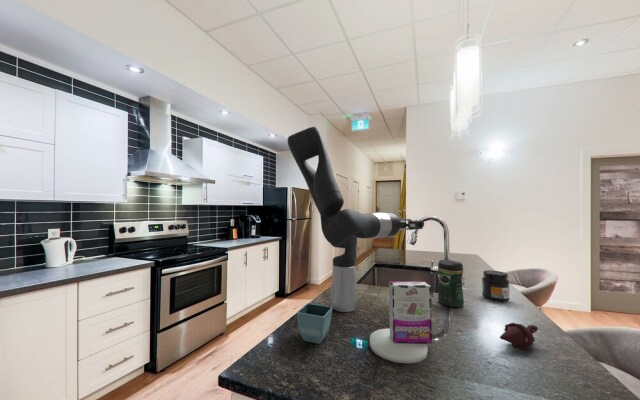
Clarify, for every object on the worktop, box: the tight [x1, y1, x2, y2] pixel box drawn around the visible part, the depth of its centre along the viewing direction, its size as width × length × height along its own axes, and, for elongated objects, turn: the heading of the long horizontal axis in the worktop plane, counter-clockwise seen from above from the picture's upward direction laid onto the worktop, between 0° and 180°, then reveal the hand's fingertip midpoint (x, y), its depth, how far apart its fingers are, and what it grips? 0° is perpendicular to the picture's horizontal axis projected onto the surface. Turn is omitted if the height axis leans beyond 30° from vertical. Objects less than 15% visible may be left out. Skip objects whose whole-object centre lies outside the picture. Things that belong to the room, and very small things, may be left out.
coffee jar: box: [437, 259, 465, 308], centre depth 112 cm, size 10×8×19 cm
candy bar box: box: [388, 281, 433, 345], centre depth 77 cm, size 11×5×16 cm, turn 89°
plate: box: [369, 327, 429, 364], centre depth 76 cm, size 16×16×2 cm
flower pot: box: [296, 303, 333, 345], centre depth 80 cm, size 9×9×9 cm
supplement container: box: [481, 269, 511, 303], centre depth 120 cm, size 10×10×12 cm
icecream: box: [499, 322, 539, 351], centre depth 77 cm, size 7×7×15 cm
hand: (411, 223), depth 89 cm, fingers open, 8 cm apart
